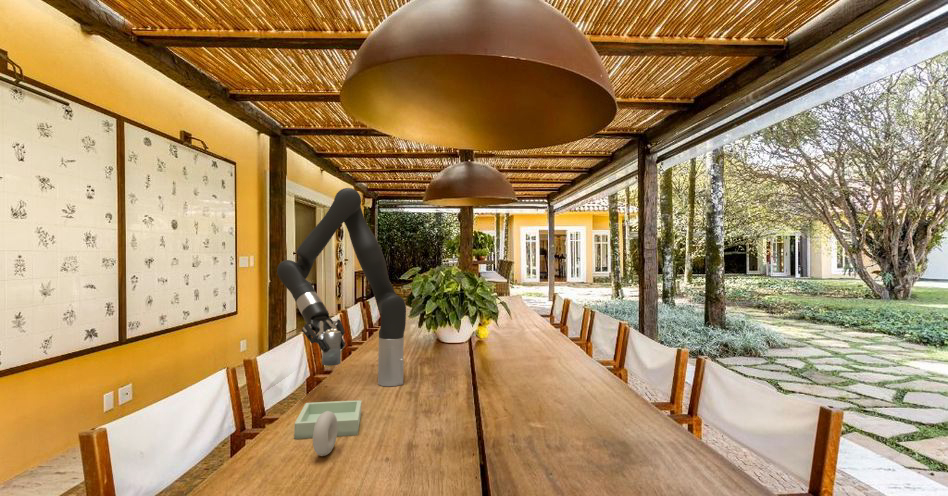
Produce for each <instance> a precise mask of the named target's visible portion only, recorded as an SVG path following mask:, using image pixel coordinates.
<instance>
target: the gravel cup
mask: <svg viewBox="0 0 948 496" xmlns="http://www.w3.org/2000/svg"><path fill="white" fill-rule="evenodd" d="M323 339H324V340H325V341H326V343H327V345H328V347H329V350H328V352H326V353H324V352H323V351H322V350H321V365H323V366H328V367H330V366H338V365H340V364H341V361H342V359H341V354H342V353H341V351H342V349H341V331H338V330H337V329H333V328H331V329H328V330H326V331H324V332H323Z"/></svg>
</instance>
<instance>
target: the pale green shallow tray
mask: <svg viewBox="0 0 948 496" xmlns="http://www.w3.org/2000/svg"><path fill="white" fill-rule="evenodd" d="M326 411H330V412H332V413H334V414H335V416H336V418H337V424H338V430H337V437H347V436H348V437H350V436H358V435H359V429H360V423H361V416H362V399H361V400H358V399H357V400H338V401H337V400H336V401H321V402H320V401H319V402H317V401H316V402H306V403H304V405H303V407H302V409H301V411H300V413H299V415H298V417H297V418H296V420H295V422H294V433H293V436H294V437H293V438H294V440H300V439H303V440H304V439H313V432H314V427H315V424H316V421H317V419H318V417H319V416H320V415H321V414H322V413H324V412H326Z"/></svg>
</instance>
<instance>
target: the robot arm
mask: <svg viewBox="0 0 948 496" xmlns="http://www.w3.org/2000/svg"><path fill="white" fill-rule="evenodd" d="M361 205H362V198H361V195H360V193H359V192H358V191H357V190H356V189H354V188H351V187H345V188H341V189H340V190H338V192H336V194H335V196H334V200H333V201H332V203H331V205H330V207H329V209H328V210H327V212H326V213H325V214H324V216H323V218H322V219H321V220H320V221H319V222H318V224H316V225H315V227H314V228H313V229H312V230H311V232H309V234H308V235H307V236H306V237H305V238H304V240H303V241H302V242H301V243H300V244H299V246H298V247H297V248H296V249H297V250H296V254H297V256H298V259H297V261H296V262H295V261H293V260H290V259H284V260H283V261H281V262H280V263H279V264H278V265H277V268H276V271H277V272H276V273H277V278H279V280H280V282H281V283H282V284H283V286H284V287H285V288H286V289H287V290H288V292H290V294H291V296H292V298H293V300H294V301H295V303H296V305H297V308H298V310H299V312H300V314H301V316H302V317H303V320H304V322H305V324H304V326H303V327H302V329H301V332H302V333H303V334H304V335H305V337H306V338H307V339H308V341H309V342H310V344H314V343H316V344H317V345H318V346H319V348H320V349H321V352H322V351H323V352H324V353H326V352H328V350H329V347H328V345H327V343H326V341H325V340H324V339H323V332H324V331H326V330H328V329H331V328H333V329H337V330H338V331H341V350H343V349H344V348H345V347H346V341H345V340H344V338H343V336H344V335H345V333H346V331H345V329H344V327H343V323H342V321H341V319H336V320H333V319H332V318H330V314H329V311H328V309H327V308H326V305H325V304H324V303H323V300H322V299H321V297H320V296H319V295H318V293H317V292H316V290H315V288H314V286H313V285H312V284H311V282H310V281H309V280H307V278H308V277H309V274H310V273H311V270H312V268H313V266H314V263H315V261H316V259H317V258H318V256H319V255H320V254H321V253H322V252H323V250H324V249H325V247H326V246H327V245H328V244H329V242H330V241H331V239H332V237H333V236H334V235H335V233H336V232H337V231H338V229H339V228H340V227H341V226H342V224H344V225H345V227H346V229H347V232H348V234H349V235H348V236H349V238H350V242H351V245H352V249H353V251H354V253H355V256H356V258H357V261H358V264H359V266H360V268H361V270H362V271H363V273H364V275H365V277H366V280H367V281H368V284H369V285H370V287H371V290H372V293H373V296H374V299H375V302H376V307H377V310H378V312H379V314H380V328H379V330H378V360H377V361H378V363H377V365H378V366H377V385H379V386H381V387H396V386H397V387H398V386H400V385H401V386H402V385H404V360H405V359H404V343H405V342H404V340H405V338H404V337H405V331H406V324H407V323H406V321H407V304H406V301H405V300H404V298H402V297H401V296H400V295H397V293H396V291H395V290H394V288H393V285H392V283H391V280H390V278H389V273H388V267H387V263H386V259H385V255H384V254H383V251H382V248H381V246H380V244H379V242H378V240H377V238H376V236H375V235H374V233H373V231H372V230H371V228H370V227H369V225H368V223H367V221H366V218H365V216H364V212H363V210H362V206H361Z"/></svg>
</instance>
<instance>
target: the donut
mask: <svg viewBox="0 0 948 496" xmlns="http://www.w3.org/2000/svg"><path fill="white" fill-rule="evenodd" d="M337 430H338V424H337V418H336V416H335V414H334V413H332V412H330V411H326V412H324V413H322V414H321V415H320V416H319V417H318V419H317V421H316V424H315V427H314V432H313V438H312V446H313V450H314V452H315V453H316V455H318V456H321V457H323V456H324V457H325V456H327V455H328V454H330V453H331V452H332V450H333V449H334V446H335V444H336V442H337V437H338V436H337Z"/></svg>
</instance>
